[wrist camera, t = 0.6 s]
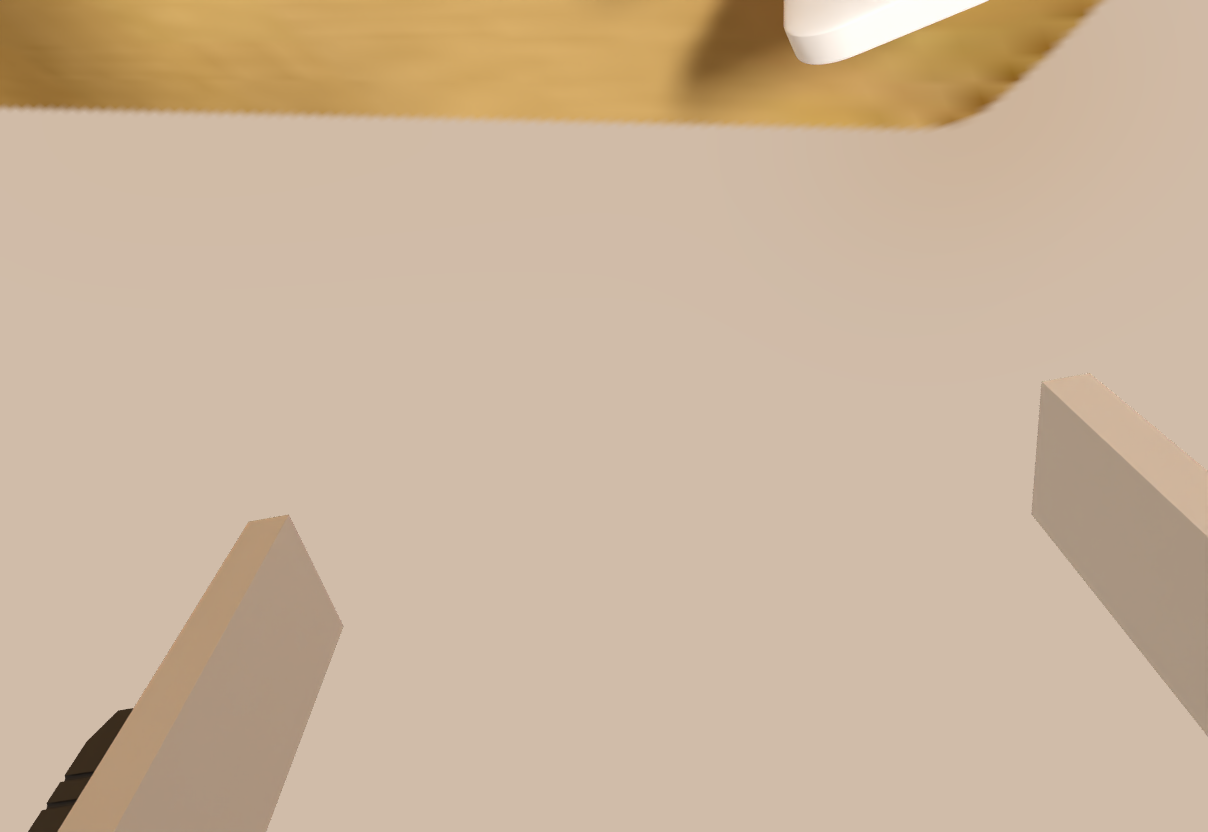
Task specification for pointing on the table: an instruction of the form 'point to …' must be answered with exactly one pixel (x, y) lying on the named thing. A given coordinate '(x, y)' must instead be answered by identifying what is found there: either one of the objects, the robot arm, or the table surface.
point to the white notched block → (858, 24)
